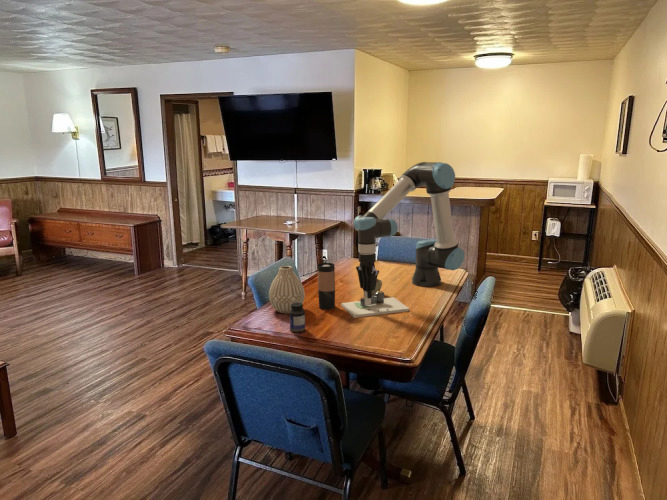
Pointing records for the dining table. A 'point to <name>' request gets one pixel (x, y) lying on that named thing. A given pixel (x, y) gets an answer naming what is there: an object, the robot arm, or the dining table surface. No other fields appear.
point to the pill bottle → (297, 318)
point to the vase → (285, 290)
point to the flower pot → (377, 286)
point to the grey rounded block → (375, 298)
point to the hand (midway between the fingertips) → (367, 304)
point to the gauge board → (375, 308)
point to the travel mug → (326, 286)
